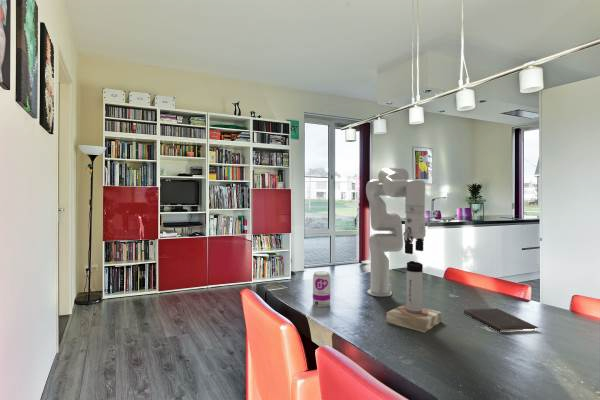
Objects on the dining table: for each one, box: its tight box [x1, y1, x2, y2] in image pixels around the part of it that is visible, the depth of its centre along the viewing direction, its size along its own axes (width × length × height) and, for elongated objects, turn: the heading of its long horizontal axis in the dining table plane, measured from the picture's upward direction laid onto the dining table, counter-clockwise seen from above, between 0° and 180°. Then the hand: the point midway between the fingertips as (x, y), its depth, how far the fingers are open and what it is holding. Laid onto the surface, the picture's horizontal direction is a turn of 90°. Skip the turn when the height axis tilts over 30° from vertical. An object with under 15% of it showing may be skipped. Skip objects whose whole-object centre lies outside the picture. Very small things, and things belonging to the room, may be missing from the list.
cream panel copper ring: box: [385, 303, 442, 333], centre depth 146 cm, size 16×16×4 cm
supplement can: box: [312, 271, 331, 308], centre depth 168 cm, size 8×8×15 cm
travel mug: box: [405, 260, 424, 314], centre depth 146 cm, size 6×7×20 cm
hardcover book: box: [463, 308, 539, 332], centre depth 147 cm, size 16×23×2 cm
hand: (414, 252), depth 146 cm, fingers open, 9 cm apart
